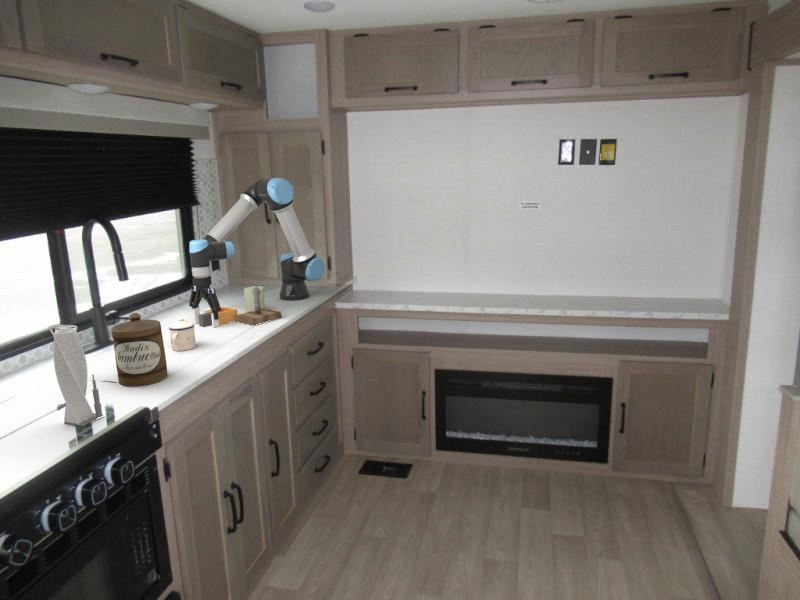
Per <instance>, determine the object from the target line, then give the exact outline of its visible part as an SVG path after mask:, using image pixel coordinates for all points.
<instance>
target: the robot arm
mask: <svg viewBox="0 0 800 600" xmlns="http://www.w3.org/2000/svg"><path fill="white" fill-rule="evenodd" d="M294 194H295V192H294V187H293V185H292V184H291V182H290V181H288V180H287V179H285V178H282V177H269V178H266V177H262V178H258V179H257V180H255V181H254V182H252V183H251V184H250V185H249V186H248V187H246V189H244V191H243V192H242V193H241V194H240V195H239V196H240V198H239V199H238V200H237V202H236V203H235V204H234V205H233V206H232V207H231V208H230V209H229V210H228V211H227V212H226V213H225V214H224V215H223V216H222V218H221V219H220V220H218V222H217V223H216V224H215V226H213V227H212V228H211V229H210V231H209V232H208V233H207V234H206V235H205V236H204V237H202V239H192V240H190V241H189V257H190V264H191V274H192V284H193V286H190V287H191V288H190V289H191V292H190V298H189V303H188V306H189V307H191V309H192V314H193V321H194V322H193V323H194V324H199V317H198V315H200V314H201V312H200V303H201V301H202V299H204V300H205V302H206V303H207V304H208V306H209V308H210V310H212V312H211V316H212V325H211V326H212V328H218V327H220V325H219V321H218V319H219V317H218V312H219V311H221V307H222V306H221V305H220V302H219V299H218V296H217V294H216V293H217V292H216V289H215V288H211V287H210V286H211V285H212V283H213V282H212V276H211V275H212V273H211V264H210V263H211V262H212V261H220V260H229V259H232V258H234V256H236V255H235V254H236V248H235V245H234V243H233V242H232V241H226V240H227V238H228V237H229V236H230V235H231V234H233V232H234V231H235V230H236V228H238V226H240V224H241V223H242V222H243V221H244V220H245V218H247V217H248V215H249V214H250V213H251V212H252V211H253V210H257V209H258V207H260V206H262V205H263V204H267V206H268V208H269V210H270V212H272V213H275V216H276V218H277V220H278V223H279V225H280V226H281V227H280V228H281V229H282V232H283V234H284V235H285V239H286V240H287V242H288V245H289V247H290V250H291V253H290V252H289V253H285V254H284V253H283V254H281V256H280V258H279V259H280V261H279V264H280V272H281V273H280V274H281V287H280V290H279V291H280V292H279V299H280V300H284V301H297V300H298V301H299V300H304V299H307V298H310V292H309V291H310V290H309V289H308V286H307V284H306V281H308V282H312V281H313V282H316V281H319V280H320V279H321V278H322V277H323V276H324V274H325V271H326V264H325V261H324V260H323V259H322V258H321V257H318V256H317V253H316V250H314V249H312V248H311V246H310V245H309V242H308V240H307V238H306V236H305V235H306V234H305V233H304V231H303V228H302V226H301V224H300V221H299V219H298V217H297V214H296V212H295V210H294V207H293V205H294Z"/></svg>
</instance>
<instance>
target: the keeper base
mask: <svg viewBox="0 0 800 600" xmlns="http://www.w3.org/2000/svg"><path fill="white" fill-rule="evenodd" d="M252 293H253V295H254V304H255V310H254V311H251V312H247V313H246V312H243V313H239V314H238V315H235V321H234V322H235V323H237V322H239V323H238V324H241V323H244V324H243V325H246V324H249V325H248V326H251V325H255V326H257V325H256V324H258V325H260V324H259V323H262V324H264V323H263V322H265V323H267V322H266V321H269V320H272V321H275V320H274V319H276V320H278V319H277V318H279V319H282V311H281V310H275V309H271V308H266V307H265V308H262V309H261V308H260V297H259V294H260V289H259V288H257V287H255V288H253V290H252ZM269 322H270V321H269Z"/></svg>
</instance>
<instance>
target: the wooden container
mask: <svg viewBox="0 0 800 600" xmlns="http://www.w3.org/2000/svg"><path fill="white" fill-rule="evenodd" d="M141 318H142V317H141V314H140V313H137V312H132V313H131V314H130V315H129V316H128V319H129V321H124V322H121V323H118V324H116V325H114V326H112V327H111V336H112V341H113V348H114V356H115V367H116V372H117V377H118V379H117V380H118V383H119V384H120V385H122V386H125V387H142V386H147V385H153V384H155V383H158V382H161V381H163V380H164V379H166V378H167V377H168V376H169V375H168V367H167V357H166V351H165V345H164V339H163V337H164V336H163V330H162V325H161V322H160V320H156V319H141Z"/></svg>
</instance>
